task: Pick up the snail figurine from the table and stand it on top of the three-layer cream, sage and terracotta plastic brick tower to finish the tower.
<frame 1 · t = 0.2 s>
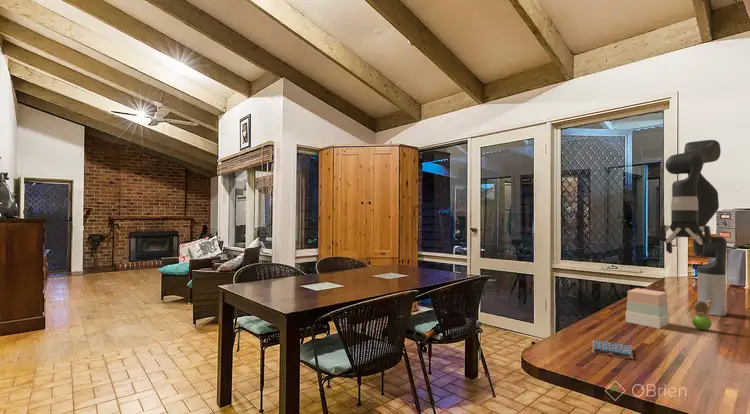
hand: (684, 254, 136), 28 cm above the kitchen counter, tool pointing down, fingers open, 8 cm apart
woven mat: (611, 353, 114), on the kitchen counter
snail figurine: (703, 330, 138), on the kitchen counter
brick tower: (646, 322, 147), on the kitchen counter
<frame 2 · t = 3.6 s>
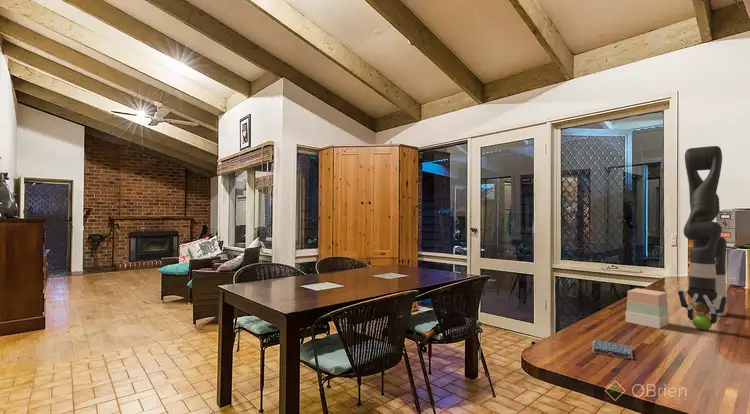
hand: (702, 321, 139), 3 cm above the kitchen counter, tool pointing down, fingers closed on snail figurine, 5 cm apart
snail figurine: (703, 330, 138), on the kitchen counter, touching gripper
everything else where it was.
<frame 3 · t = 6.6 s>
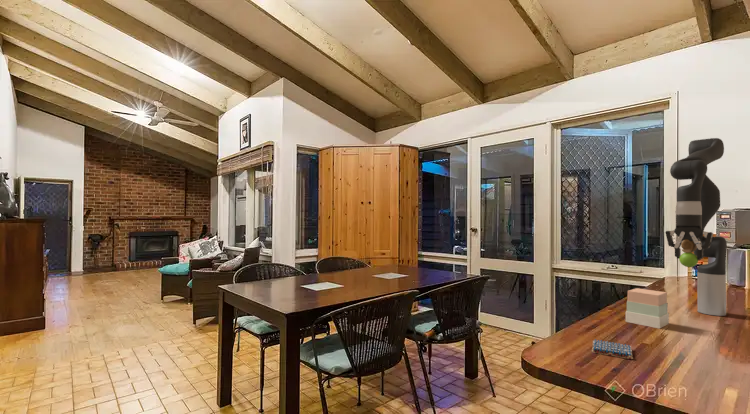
hand: (688, 258, 141), 26 cm above the kitchen counter, tool pointing down, fingers closed on snail figurine, 5 cm apart
snail figurine: (690, 267, 140), point 22 cm above the kitchen counter, touching gripper
everything else where it was.
when the fingers open (16 cm above the kitchen counter, at t = 10.0 s): snail figurine stays where it is, resting on brick tower.
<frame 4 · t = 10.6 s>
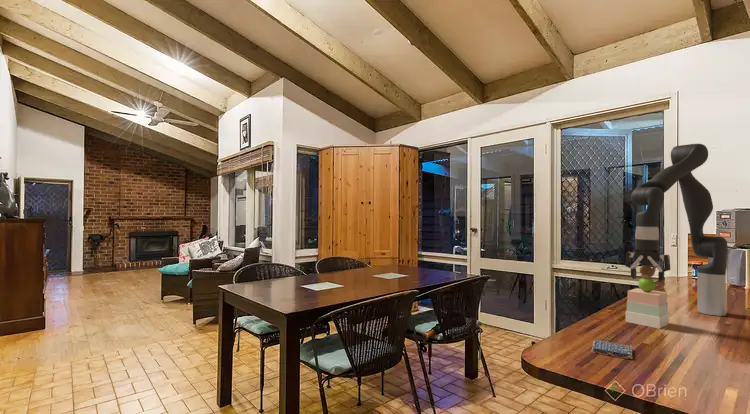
hand: (647, 280, 147), 16 cm above the kitchen counter, tool pointing down, fingers open, 8 cm apart
snail figurine: (648, 292, 147), point 12 cm above the kitchen counter, touching brick tower
everything else where it was.
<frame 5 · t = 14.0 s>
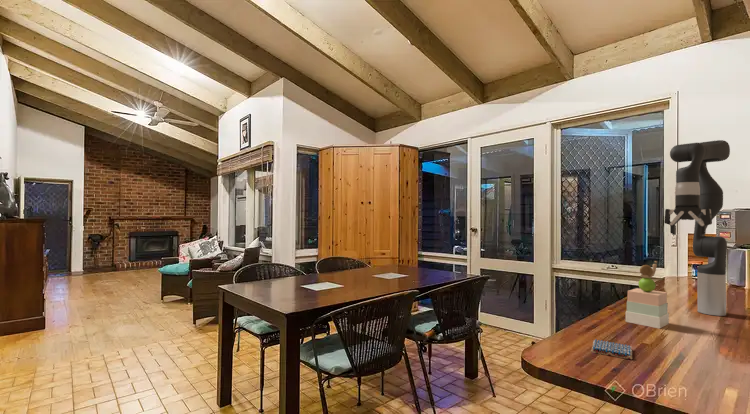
hand: (687, 235, 148), 34 cm above the kitchen counter, tool pointing down, fingers open, 8 cm apart
nothing on the kitchen counter moved.
at the end: snail figurine 0.4 cm off-centre on the brick tower, point 11.8 cm above the brick tower's base; snail figurine tilted 0°; the gripper is holding nothing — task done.
